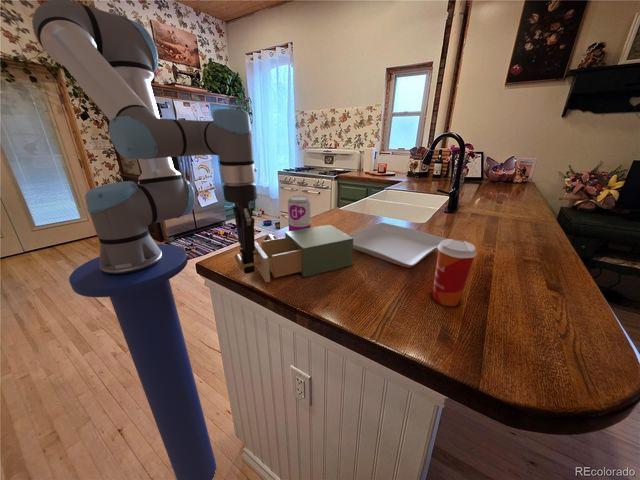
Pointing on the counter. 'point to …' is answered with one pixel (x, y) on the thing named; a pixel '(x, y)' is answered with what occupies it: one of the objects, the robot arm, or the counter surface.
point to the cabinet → (322, 248)
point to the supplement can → (299, 213)
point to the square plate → (395, 243)
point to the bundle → (269, 237)
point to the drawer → (275, 258)
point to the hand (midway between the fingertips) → (249, 271)
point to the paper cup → (452, 270)
